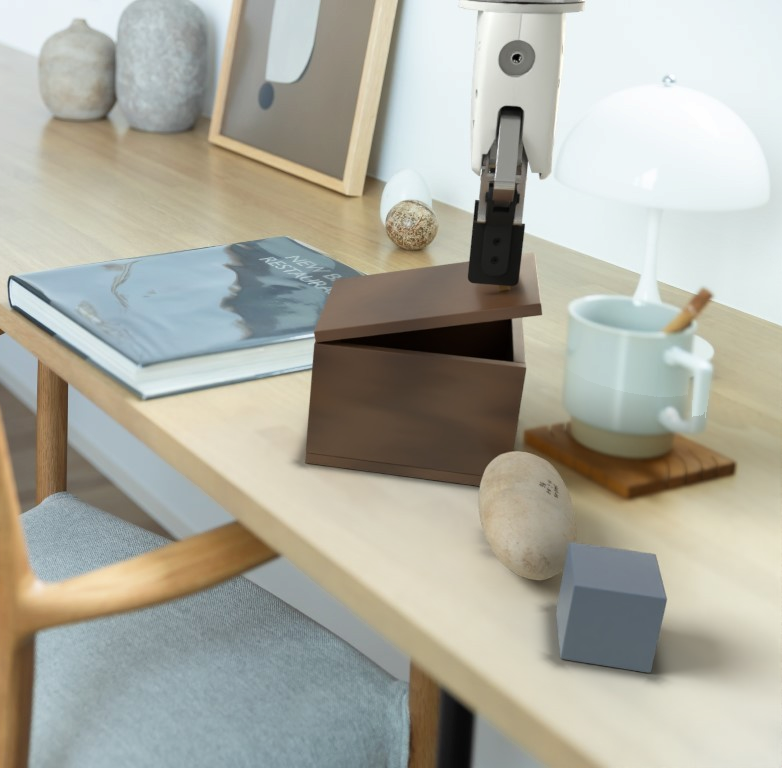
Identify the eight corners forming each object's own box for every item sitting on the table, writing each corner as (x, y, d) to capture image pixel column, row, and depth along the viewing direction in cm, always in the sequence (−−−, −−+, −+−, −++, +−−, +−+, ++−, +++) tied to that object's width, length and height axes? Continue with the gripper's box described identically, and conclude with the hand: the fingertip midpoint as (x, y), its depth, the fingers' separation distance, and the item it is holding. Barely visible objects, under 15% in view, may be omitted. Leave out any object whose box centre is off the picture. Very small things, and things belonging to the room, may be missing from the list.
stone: (559, 462, 76) (628, 502, 64) (520, 550, 76) (581, 606, 64) (477, 429, 75) (531, 463, 64) (439, 518, 76) (485, 568, 64)
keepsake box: (505, 419, 88) (522, 309, 85) (507, 490, 78) (526, 367, 74) (326, 397, 91) (335, 290, 87) (304, 463, 80) (314, 343, 77)
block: (640, 624, 64) (656, 553, 62) (650, 673, 60) (667, 599, 58) (555, 611, 65) (568, 541, 63) (559, 659, 61) (573, 585, 59)
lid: (536, 262, 83) (528, 194, 82) (542, 315, 73) (533, 238, 71) (336, 289, 87) (325, 224, 86) (315, 342, 77) (302, 270, 75)
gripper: (597, -6, 63) (556, 315, 70) (578, -22, 78) (546, 242, 85) (455, -9, 64) (428, 305, 71) (464, -25, 80) (441, 235, 87)
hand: (493, 267), depth 78 cm, fingers closed on lid, 5 cm apart
